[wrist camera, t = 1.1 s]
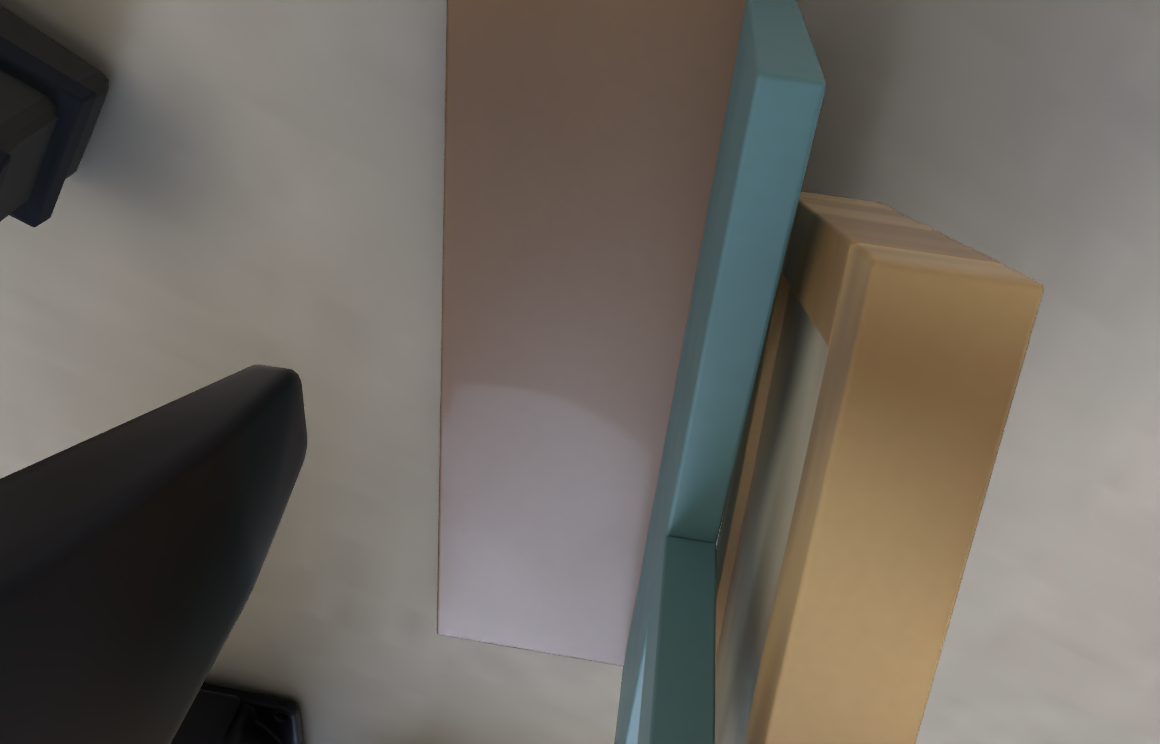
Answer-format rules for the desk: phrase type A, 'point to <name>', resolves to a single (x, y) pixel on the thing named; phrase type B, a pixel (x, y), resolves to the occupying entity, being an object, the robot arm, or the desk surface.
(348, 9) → the desk surface
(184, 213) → the desk surface
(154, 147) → the desk surface
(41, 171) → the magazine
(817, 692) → the picture frame
